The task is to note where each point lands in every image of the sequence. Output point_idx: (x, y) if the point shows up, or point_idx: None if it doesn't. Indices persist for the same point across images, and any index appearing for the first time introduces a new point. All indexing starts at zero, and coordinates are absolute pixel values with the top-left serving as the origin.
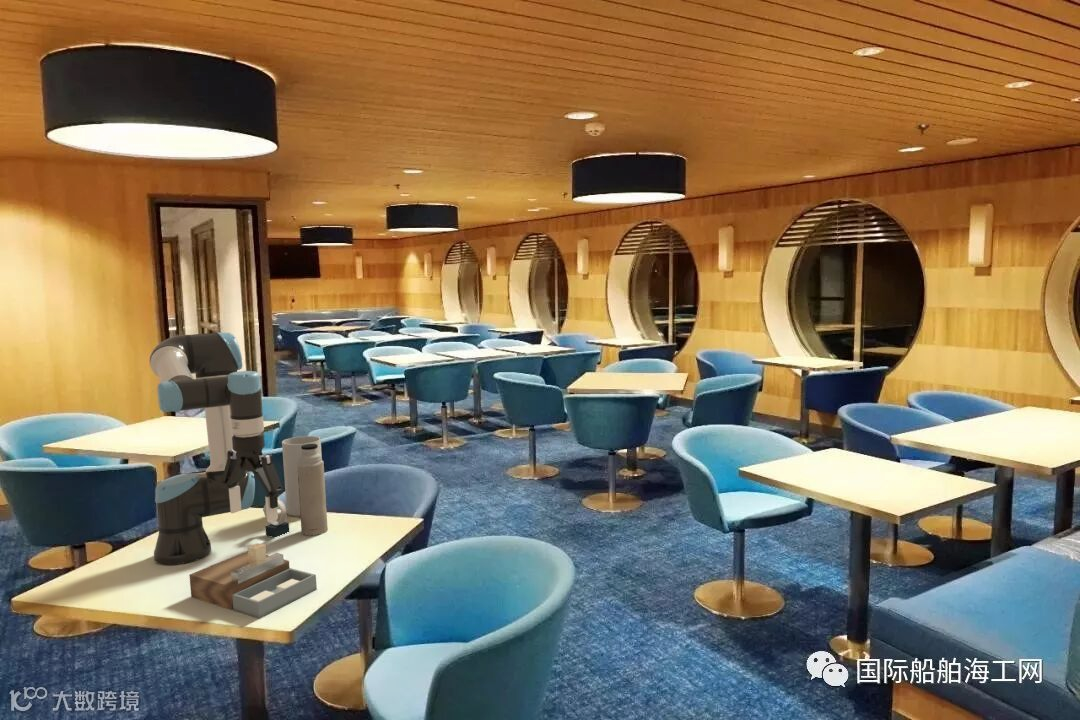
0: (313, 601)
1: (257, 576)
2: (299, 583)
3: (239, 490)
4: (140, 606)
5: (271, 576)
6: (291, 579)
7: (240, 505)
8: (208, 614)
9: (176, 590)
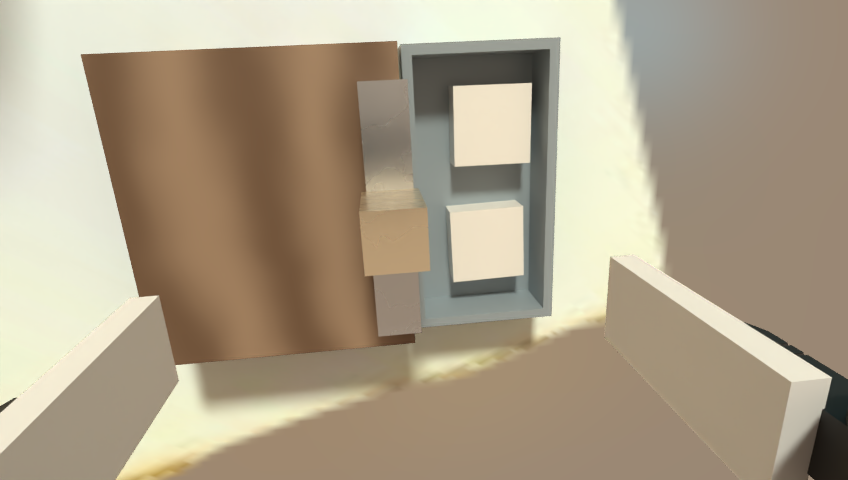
0: (599, 122)
1: None
2: (556, 131)
3: (35, 433)
4: None
5: None
6: (456, 91)
7: (136, 323)
8: (368, 356)
9: (84, 321)
